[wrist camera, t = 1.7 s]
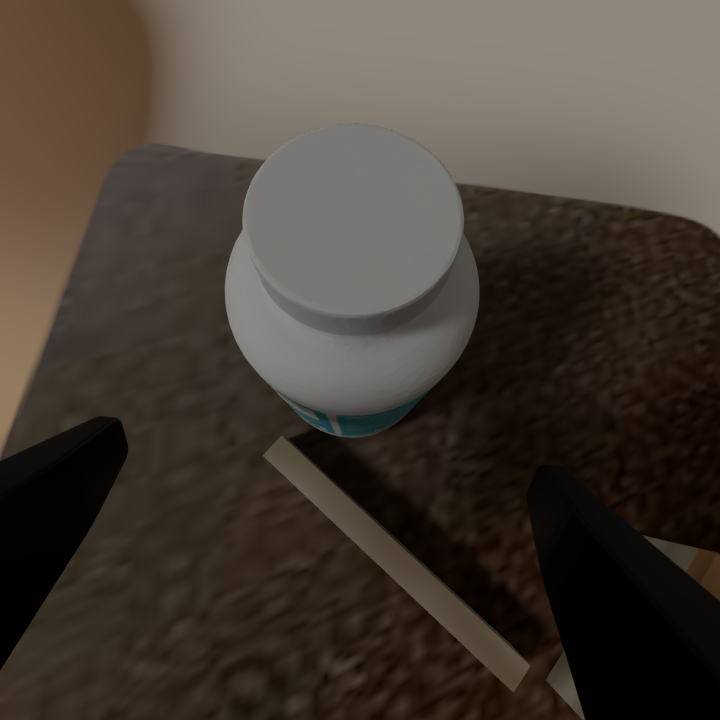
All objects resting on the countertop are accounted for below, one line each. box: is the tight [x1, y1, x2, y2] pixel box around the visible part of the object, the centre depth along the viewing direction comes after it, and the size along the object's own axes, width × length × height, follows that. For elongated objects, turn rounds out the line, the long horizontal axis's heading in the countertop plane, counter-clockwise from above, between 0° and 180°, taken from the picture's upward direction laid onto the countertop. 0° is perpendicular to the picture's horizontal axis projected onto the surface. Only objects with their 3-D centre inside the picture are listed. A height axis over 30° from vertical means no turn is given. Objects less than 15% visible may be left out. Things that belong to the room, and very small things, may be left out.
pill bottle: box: [225, 124, 479, 437], centre depth 15 cm, size 8×7×14 cm
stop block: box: [546, 535, 720, 720], centre depth 16 cm, size 8×4×4 cm, turn 139°
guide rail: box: [263, 436, 530, 693], centre depth 18 cm, size 1×14×2 cm, turn 49°
